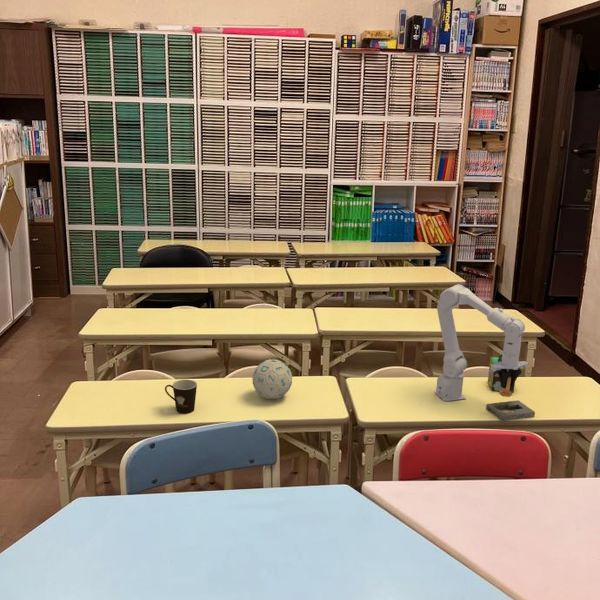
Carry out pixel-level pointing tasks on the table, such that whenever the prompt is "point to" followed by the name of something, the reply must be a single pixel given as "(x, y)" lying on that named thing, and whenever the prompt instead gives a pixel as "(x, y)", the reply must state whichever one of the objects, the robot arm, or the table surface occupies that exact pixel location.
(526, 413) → the keyhole plate
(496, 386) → the chalk box
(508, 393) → the peg
